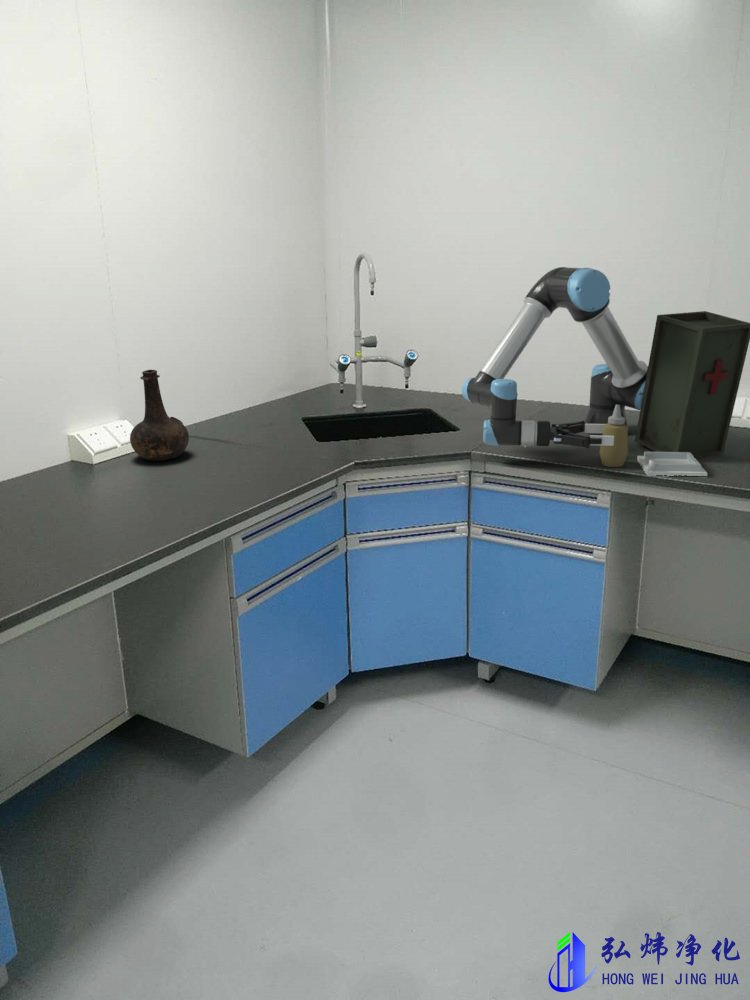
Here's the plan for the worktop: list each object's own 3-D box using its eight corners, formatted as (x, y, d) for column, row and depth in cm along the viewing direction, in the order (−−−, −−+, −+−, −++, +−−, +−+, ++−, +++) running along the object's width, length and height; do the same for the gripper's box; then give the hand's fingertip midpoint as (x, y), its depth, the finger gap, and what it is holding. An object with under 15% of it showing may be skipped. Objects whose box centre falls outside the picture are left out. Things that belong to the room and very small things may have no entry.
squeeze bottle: (631, 464, 223) (637, 404, 217) (619, 470, 217) (624, 409, 211) (606, 459, 228) (611, 400, 222) (593, 465, 223) (598, 405, 217)
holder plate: (637, 459, 227) (638, 446, 226) (693, 460, 225) (694, 447, 223) (647, 475, 212) (648, 461, 211) (706, 477, 210) (708, 462, 209)
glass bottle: (201, 455, 242) (192, 369, 233) (153, 469, 230) (141, 377, 221) (169, 446, 254) (159, 363, 244) (122, 459, 241) (109, 371, 232)
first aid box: (675, 462, 226) (703, 328, 208) (634, 441, 241) (657, 314, 224) (722, 454, 232) (753, 323, 215) (679, 434, 247) (705, 311, 230)
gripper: (533, 434, 236) (603, 435, 232) (537, 457, 212) (615, 459, 209) (534, 411, 233) (605, 412, 230) (538, 431, 210) (617, 432, 207)
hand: (610, 434), depth 219 cm, fingers open, 13 cm apart
